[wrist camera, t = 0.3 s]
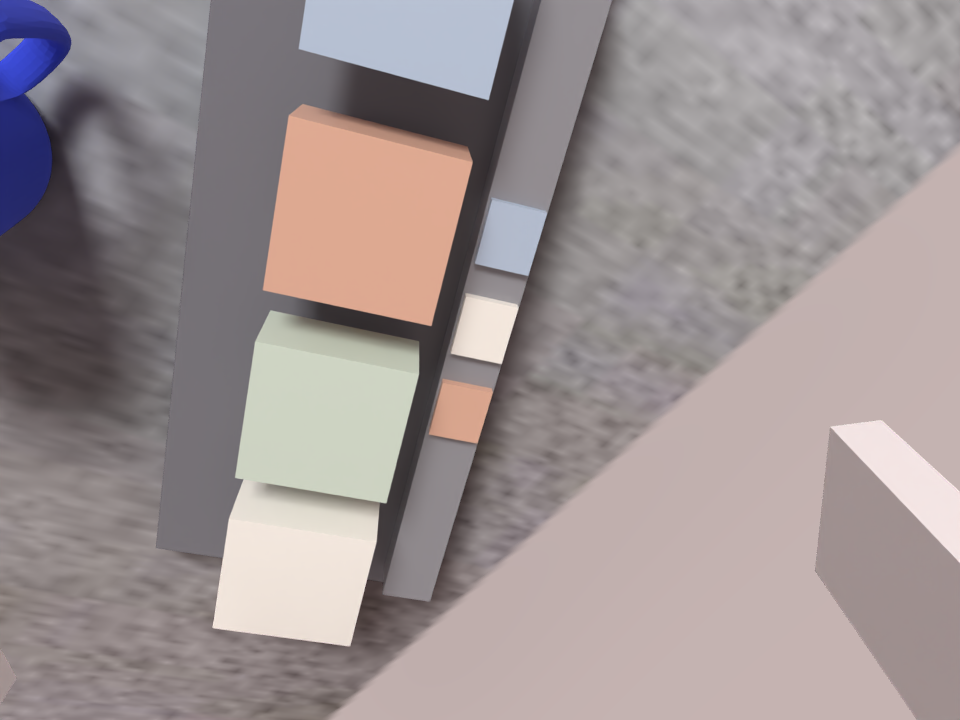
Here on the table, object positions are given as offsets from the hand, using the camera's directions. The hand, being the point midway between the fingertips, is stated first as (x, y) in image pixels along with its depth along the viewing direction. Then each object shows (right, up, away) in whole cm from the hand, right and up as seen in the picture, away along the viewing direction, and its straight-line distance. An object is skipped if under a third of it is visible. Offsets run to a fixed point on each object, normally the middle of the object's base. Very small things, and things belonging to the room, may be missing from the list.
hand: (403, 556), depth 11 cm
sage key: (-5, +2, +20) cm, 20 cm away
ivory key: (-7, -5, +23) cm, 25 cm away
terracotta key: (-3, +9, +16) cm, 19 cm away
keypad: (-4, +7, +22) cm, 24 cm away
